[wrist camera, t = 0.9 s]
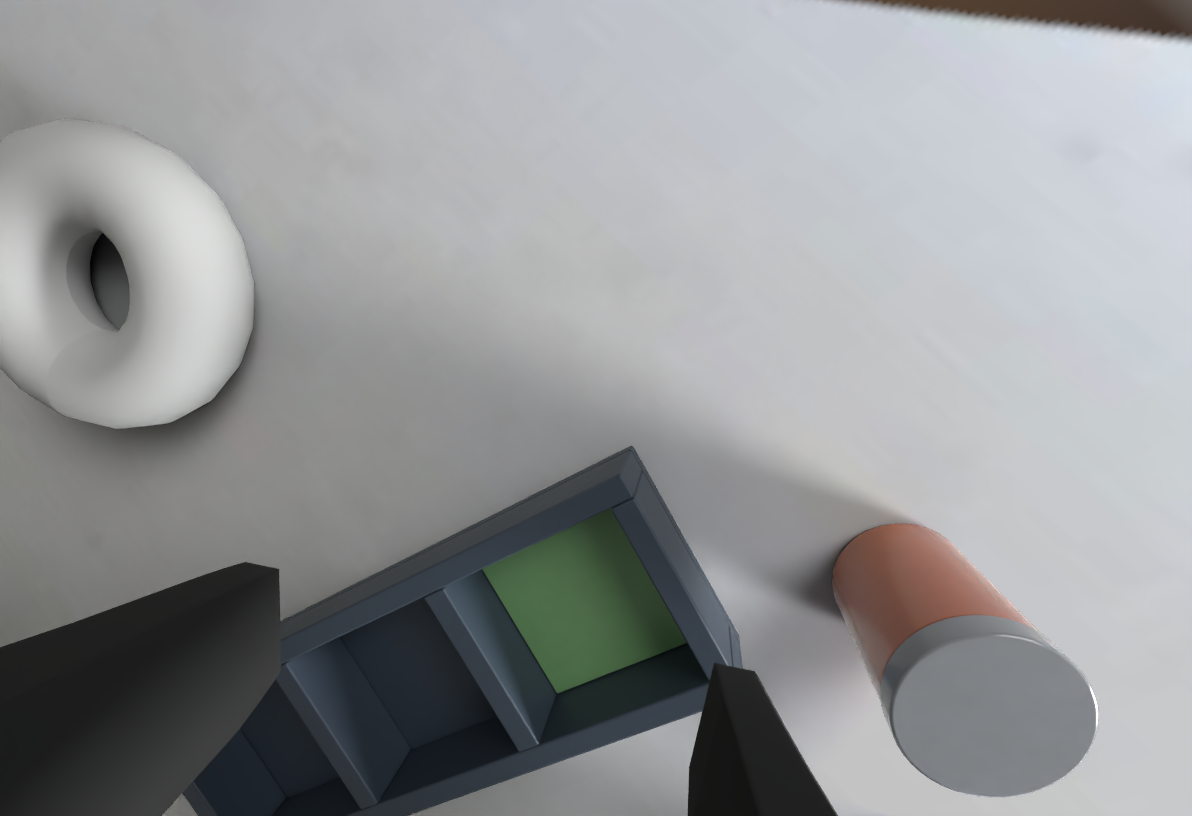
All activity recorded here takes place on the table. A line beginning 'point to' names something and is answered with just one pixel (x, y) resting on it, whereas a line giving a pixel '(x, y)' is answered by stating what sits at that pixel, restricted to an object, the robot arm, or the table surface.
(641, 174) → the table surface
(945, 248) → the table surface
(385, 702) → the tray
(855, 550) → the salt shaker
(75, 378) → the donut
